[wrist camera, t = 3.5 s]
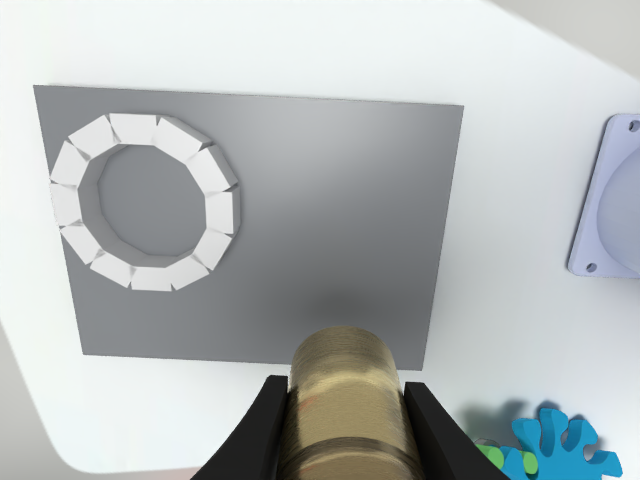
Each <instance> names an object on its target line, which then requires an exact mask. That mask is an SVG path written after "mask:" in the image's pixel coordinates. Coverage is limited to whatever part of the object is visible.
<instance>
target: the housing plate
mask: <svg viewBox="0 0 640 480" xmlns="http://www.w3.org/2000/svg"><path fill="white" fill-rule="evenodd" d="M33 88H34V94H35V99H36V104H37V110H38V115H39V120H40V126H41V131H42V137H43V142H44V147H45V153H46V158H47V163H48V169H49V174H50V178H49V179H50V180H51V183H50V184H49V187H50V192H51V197H52V203H53V208H54V213H55V219H56V224H57V225H59V228H60V230H59V231H60V233H61V239H62V244H63V249H64V255H65V260H66V266H67V271H68V276H69V282H70V287H71V292H72V298H73V303H74V309H75V314H76V319H77V325H78V330H79V335H80V341H81V346H82V352H83V355H98V356H119V357H140V358H161V359H183V360H204V361H225V362H247V363H268V364H289V365H291V364H292V360H293V356H294V354H295V352H296V350H297V349H298V347H299V346H300V344H301V343H302V342H303V341H304V340H305V339H306V338H307V337H309V336H310V335H312V334H313V333H315V332H317V331H319V330H322V329H325V328H328V327H333V326H354V327H358V328H362V329H364V330H367V331H369V332H371V333H373V334H375V335H376V336H377V337H379V338H380V339H381V340H382V341H383V342H384V343H385V344H386V345H387V347H388V348H389V350H390V352H391V354H392V356H393V360H394V363H395V367H396V370H417V371H422V367H423V361H424V354H425V348H426V342H427V336H428V329H429V323H430V317H431V311H432V304H433V298H434V292H435V286H436V279H437V273H438V267H439V260H440V254H441V248H442V242H443V235H444V229H445V223H446V217H447V210H448V204H449V198H450V192H451V185H452V179H453V173H454V166H455V160H456V154H457V148H458V141H459V135H460V129H461V123H462V116H463V110H464V106H459V105H438V104H417V103H396V102H376V101H355V100H334V99H314V98H293V97H272V96H251V95H231V94H210V93H189V92H169V91H148V90H127V89H106V88H86V87H65V86H44V85H33Z"/></svg>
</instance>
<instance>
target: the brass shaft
mask: <svg viewBox="0 0 640 480" xmlns="http://www.w3.org/2000/svg"><path fill="white" fill-rule="evenodd" d="M275 480H426V478H425V474H424V471H423V467H422V463H421V460H420V456H419V452H418V448H417V445H416V441H415V437H414V434H413V430H412V426H411V423H410V419H409V415H408V411H407V408H406V404H405V400H404V397H403V393H402V389H401V386H400V382H399V378H398V374H397V371H396V367H395V363H394V360H393V356H392V354H391V352H390V350H389V348H388V347H387V345H386V344H385V343H384V342H383V341H382V340H381V339H380V338H379V337H377V336H376V335H375V334H373V333H371V332H369V331H367V330H364V329H362V328H358V327H354V326H333V327H328V328H325V329H322V330H319V331H317V332H315V333H313V334H312V335H310V336H309V337H307V338H306V339H305V340H304V341H303V342H302V343H301V344H300V346H299V347H298V349H297V350H296V352H295V354H294V356H293V360H292V364H291V371H290V379H289V386H288V393H287V400H286V408H285V415H284V421H283V428H282V435H281V442H280V450H279V457H278V464H277V471H276V478H275Z"/></svg>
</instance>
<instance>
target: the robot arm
mask: <svg viewBox="0 0 640 480" xmlns="http://www.w3.org/2000/svg"><path fill="white" fill-rule="evenodd" d="M632 121H633V123H634V126H633V128H632V129H631V130H630V131H629V124H630V123H631V122H632ZM590 263H592V265H591V267H590V268H589V269H586V267H587V266H588V265H589V264H590ZM568 269H569V271H570V272H572V273H573V274H575V275H577V276H593V277H614V278H635V279H640V115H637V114H618V115H615V116H613V117H612V118H611V119H610V120H609V122H608V124H607V127H606V131H605V134H604V138H603V141H602V145H601V149H600V152H599V156H598V159H597V163H596V166H595V170H594V174H593V177H592V181H591V184H590V188H589V191H588V195H587V199H586V202H585V206H584V209H583V213H582V217H581V220H580V224H579V227H578V231H577V234H576V238H575V242H574V245H573V249H572V252H571V256H570V259H569V263H568ZM287 392H288V376H278V375H270V376H269V377H267V379H266V381H265V383H264V385H263V387H262V389H261V390H260V392H259V394H258V396H257V397H256V399H255V400H254V402H253V404H252V405H251V407H250V408H249V410H248V411H247V413H246V414H245V416H244V417H243V419H242V420H241V421H240V423H239V424H238V425H237V427H236V428H235V429H234V431H233V432H232V433H231V434H230V436H229V437H228V438H227V440H226V441H225V442H224V443H223V444H222V446H221V447H220V448H219V449H218V450H217V452H216V453H215V454H214V455H213V456H212V457H211V458H210V459H209V460H208V462H207V463H206V464H205V465H204V466H203V467H202V468H201V469H200V470H199V471H198V472H197V473H196V474H195V475H194V476H193V477H192V478H191V479H190V480H275V478H276V471H277V464H278V457H279V450H280V442H281V435H282V428H283V421H284V415H285V408H286V400H287ZM403 397H404V400H405V404H406V408H407V411H408V415H409V419H410V423H411V426H412V430H413V434H414V437H415V441H416V445H417V448H418V452H419V456H420V460H421V463H422V467H423V471H424V474H425V478H426V480H511V479H510V478H508V477H507V476H506V475H505V474H504V473H503V472H502V471H501V470H500V469H499V468H498V467H497V466H495V465H494V464H493V463H492V462H491V461H490V460H489V459H488V458H487V457H486V456H485V455H484V454H483V453H482V452H481V450H480V449H479V448H478V447H477V446H476V445H475V444H474V443H473V442H472V441H471V440H470V439H469V438H468V436H467V435H466V434H465V433H464V432H463V431H462V430H461V428H460V427H459V426H458V425H457V424H456V423H455V421H454V420H453V419H452V418H451V417H450V415H449V414H448V413H447V412H446V410H445V409H444V408H443V407H442V405H441V404H440V403H439V402H438V400H437V399H436V398H435V397H434V395H433V394H432V393H431V391H430V390H429V389H428V388H427V386H426V385H425V384H424V383H421V382H406V383H405V390H404V396H403Z"/></svg>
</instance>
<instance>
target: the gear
mask: <svg viewBox="0 0 640 480" xmlns="http://www.w3.org/2000/svg"><path fill="white" fill-rule="evenodd" d="M539 416H540V421H541V424H542V430H543V440H542V445H541V450H540V448H539V441H540V437H541V426H540V423H539V421H538V420H537V419H528V418H519V419H516V420H514V421H512V429H513V432H514V434H515V435H516V437H517V438H518V440H519V442H520V444H521V446H522V448H523V451H520V450H517V449H516V448H514V447H508V446H501V447H500V446H499V445H498V444H497V443H496V442H495V441H492V440H486V439H478V440H477V441H476V442H475V443H474V444H475V445H476V446H477V447H478V448H479V449H480V450H481V452H482V453H483V454H484V455H485V456H486V457H487V458H488V459H489V460H490V461H491V462H492V463H493V464H494V465H495V466H497V467H498V468H499V469H500V470H501V471H502V472H503V473H504V474H505V475H506V476H507V477H508V478H510V479H511V480H602V479H601V476H602V474H603V475H608V476H614V477H621V476H622V474H623V472H622V468H621V464H620V462H619V459H618V457H617V455H616V453H615V452H610V451H602V450H597V451H596V452H595V453H594V455H593V457H592V458H591V459H590V460H589V461H586V460H585V458H584V456H583V447H584V446H585V445H586V444H595V443H596V442H597V439H598V435H597V433H596V431H595V430H594V428H593V427H592V426H591V425H590V424H589V423H588V421H587V420H578V419H574V420H571V421H570V423H569V431H568V436H567V439H566V441H565V443H564V444H563V446H562V445H561V439H560V438H561V434H562V433H563V432H564V431H565V430H566V429H567V428H568V417H567V415H566V414H564V413H563V412H561V411H559V410H556V409H547V408H541V410H540V415H539Z"/></svg>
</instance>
